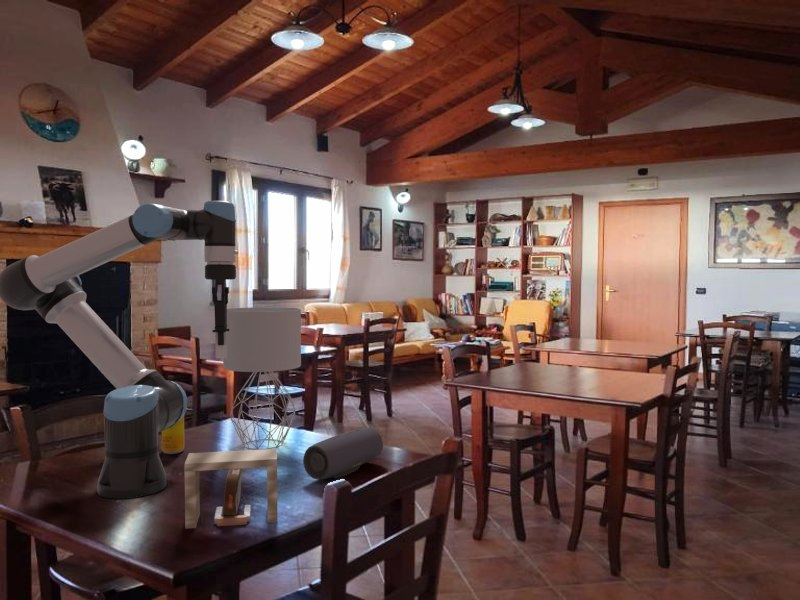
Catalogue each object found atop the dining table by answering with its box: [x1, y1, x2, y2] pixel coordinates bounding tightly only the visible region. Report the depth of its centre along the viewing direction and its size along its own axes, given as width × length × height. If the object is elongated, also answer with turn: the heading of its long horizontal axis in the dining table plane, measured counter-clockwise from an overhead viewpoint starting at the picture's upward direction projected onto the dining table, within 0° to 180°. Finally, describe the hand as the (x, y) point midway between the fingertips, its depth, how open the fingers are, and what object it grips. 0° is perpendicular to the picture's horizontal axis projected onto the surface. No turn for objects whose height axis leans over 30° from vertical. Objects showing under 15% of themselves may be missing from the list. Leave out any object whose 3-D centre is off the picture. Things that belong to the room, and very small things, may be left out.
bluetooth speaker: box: [302, 426, 384, 481], centre depth 169 cm, size 23×9×10 cm, turn 148°
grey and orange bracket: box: [213, 504, 252, 527], centre depth 138 cm, size 7×8×2 cm
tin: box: [222, 468, 244, 516], centre depth 143 cm, size 15×3×8 cm, turn 8°
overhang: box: [184, 448, 278, 530], centre depth 138 cm, size 18×8×13 cm, turn 101°
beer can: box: [161, 415, 185, 455], centre depth 189 cm, size 6×6×15 cm
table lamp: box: [222, 306, 302, 450], centre depth 196 cm, size 22×22×40 cm
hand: (221, 357), depth 167 cm, fingers closed
